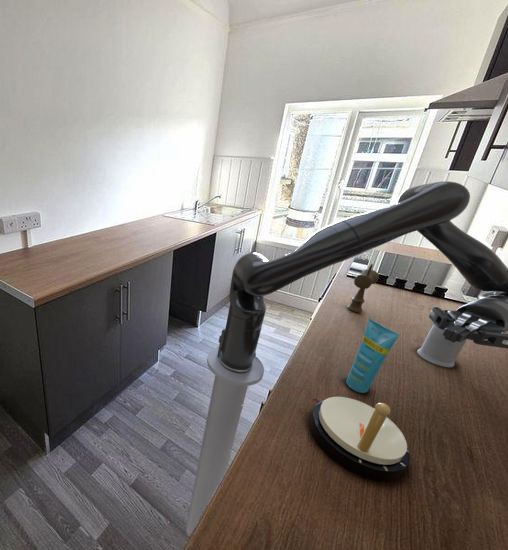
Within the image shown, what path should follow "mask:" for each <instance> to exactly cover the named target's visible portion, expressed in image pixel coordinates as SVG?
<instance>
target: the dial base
mask: <svg viewBox="0 0 508 550" xmlns="http://www.w3.org/2000/svg"><path fill="white" fill-rule="evenodd" d="M323 401H324V400H322V401H319V402H317V404H316V405H314V407H313V410H312V412H311V415H310V418H309V429H310V433H311V435H312V437H313V439H314V441H315V442H316V443H317V445H318V447H320V449H321V451H323V452H324V453H325V454H326V455H327V456H328V457H329V458H330V459H331V460H333V462H335V463H336V464H338V465H339V466H341V467H342V468H344V470H347V471H349V472H350V473H352V474H354V475H357V476H359V477H361V478H365V479H367V480H372V481H375V482H382V483H383V482H393V481H395V480H398V479H399V478H401V476H402V475H403V474H404V472H405V470H406V469H407V467H408V465H409V463H410V461H411V460H410V459H411V455H410V450H409V447H408V446H407V451H406V453H405V455H404V457H403V458H402V460H401V461H399V462H398V463H395V464H390V465H383V464H377V463H373V462H370V461H367V460H364V459H362V458H359V457H357V456H356V455H354V454H352V453H350V452H349V451H347V450H346V449H344V448H343V447H341V446H340V445H339V444H338V443H336V442H335V441H334V440H333V439H332V438H331V437H330V436H329V435H328V433H327V432H326V431H325V429H324V428H323V426H322V424H321V422H320V419H319V409H320V407H321V404H322V403H323Z"/></svg>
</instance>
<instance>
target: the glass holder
mask: <svg viewBox="0 0 508 550" xmlns="http://www.w3.org/2000/svg"><path fill="white" fill-rule="evenodd" d="M441 310H442V311H445V312H446V313H447V312H448V311H450V309H449V310H448V309H441ZM443 332H444V330H441V329H439V328H438V327H437V326H436V325H435V323H434V322H433V324H432V326H431V328H430V330H429V332H428V334H427V336H426V337H425V339H424V341H423V343H422V345H421V347H420V348H418V349H417V351H416V353H417V354H418V355H419V356H420V358H421V359H424V360H426V361H427V362H429V363H431V364H434V365H437V366H440V367H443V368H453V367H455V365H456V364H455V361H456V359H457V358H458V356H459V355H460V353H461V352H462V349H463V347H464V346H465V344H466V342H467V341H468V340H464V341H463V342H458V341H456V342H455V343H454V342H451V341H449V340H447V339H444V337H445V336H443V335H442V334H443Z"/></svg>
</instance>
